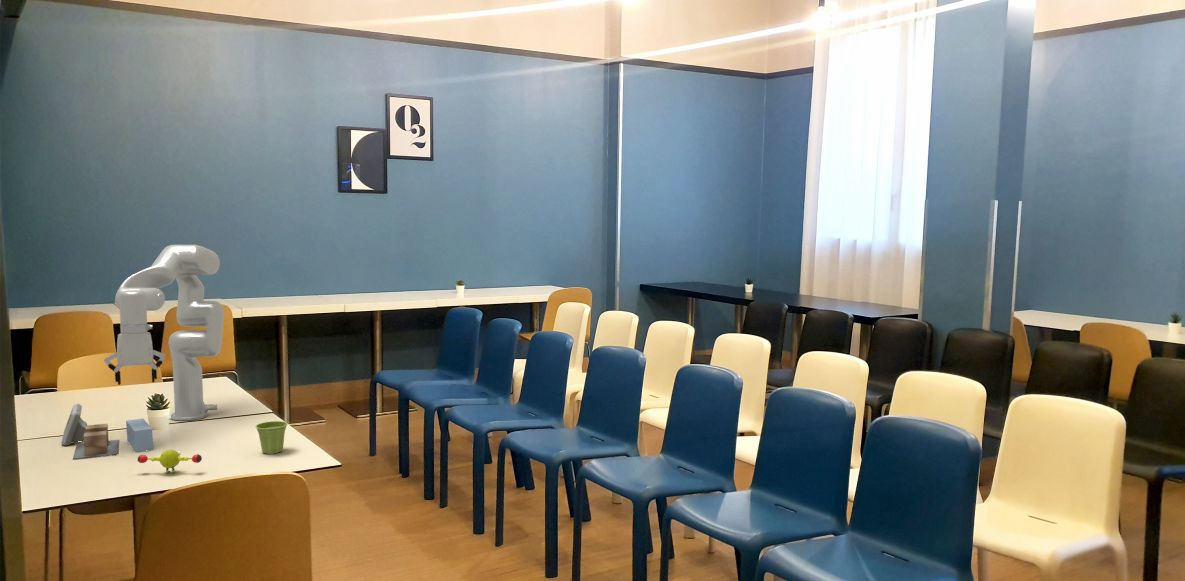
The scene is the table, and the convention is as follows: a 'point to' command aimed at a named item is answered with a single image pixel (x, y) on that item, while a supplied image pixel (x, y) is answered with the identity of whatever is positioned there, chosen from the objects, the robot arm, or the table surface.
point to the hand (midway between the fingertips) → (136, 382)
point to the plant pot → (271, 436)
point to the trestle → (96, 443)
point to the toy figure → (169, 459)
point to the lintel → (139, 435)
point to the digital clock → (74, 426)
